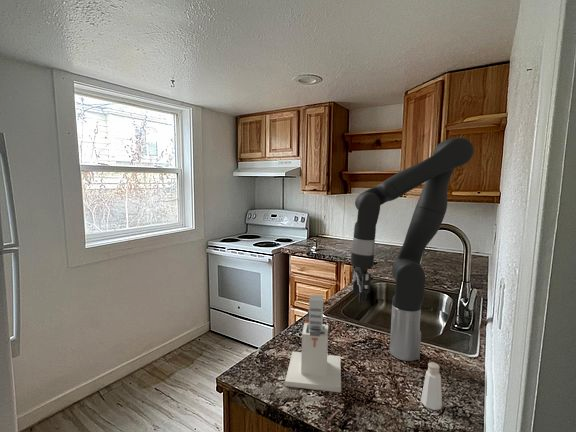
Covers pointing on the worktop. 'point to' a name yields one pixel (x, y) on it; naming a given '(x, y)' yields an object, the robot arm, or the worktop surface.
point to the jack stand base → (314, 363)
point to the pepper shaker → (432, 388)
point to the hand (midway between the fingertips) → (358, 298)
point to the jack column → (315, 313)
